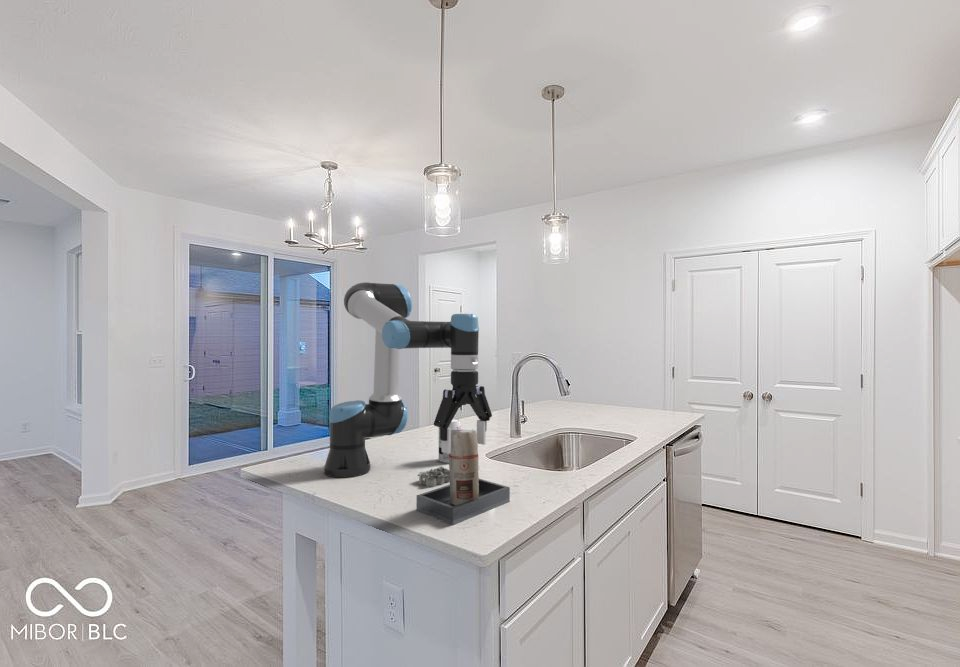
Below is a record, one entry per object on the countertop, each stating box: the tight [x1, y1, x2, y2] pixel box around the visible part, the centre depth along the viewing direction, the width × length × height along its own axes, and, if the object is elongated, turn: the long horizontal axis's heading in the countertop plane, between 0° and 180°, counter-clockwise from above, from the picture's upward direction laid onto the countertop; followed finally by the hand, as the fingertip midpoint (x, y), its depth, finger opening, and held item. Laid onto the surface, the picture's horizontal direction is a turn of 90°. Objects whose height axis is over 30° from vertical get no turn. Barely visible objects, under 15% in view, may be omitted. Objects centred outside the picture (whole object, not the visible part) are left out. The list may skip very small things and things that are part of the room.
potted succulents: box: [417, 466, 450, 488], centre depth 148 cm, size 11×8×4 cm
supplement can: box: [438, 418, 462, 464], centre depth 173 cm, size 8×8×15 cm
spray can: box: [448, 428, 480, 506], centre depth 127 cm, size 8×8×20 cm
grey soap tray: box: [415, 478, 511, 526], centre depth 127 cm, size 22×14×4 cm, turn 137°
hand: (464, 448), depth 127 cm, fingers open, 13 cm apart
